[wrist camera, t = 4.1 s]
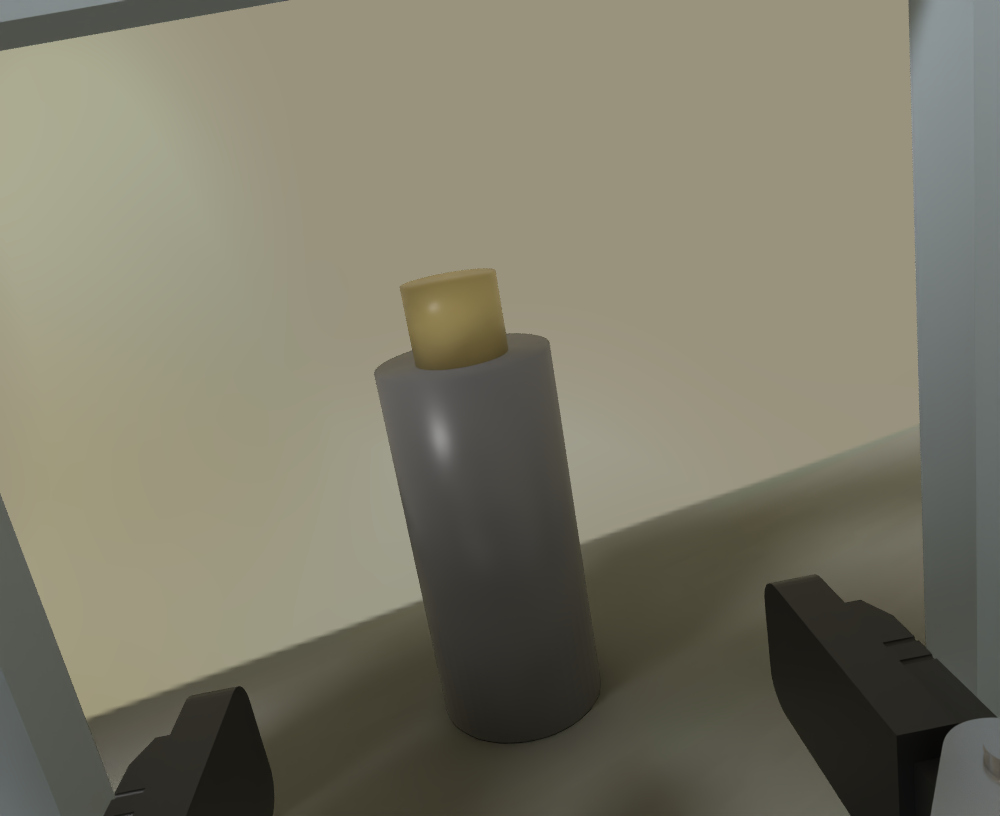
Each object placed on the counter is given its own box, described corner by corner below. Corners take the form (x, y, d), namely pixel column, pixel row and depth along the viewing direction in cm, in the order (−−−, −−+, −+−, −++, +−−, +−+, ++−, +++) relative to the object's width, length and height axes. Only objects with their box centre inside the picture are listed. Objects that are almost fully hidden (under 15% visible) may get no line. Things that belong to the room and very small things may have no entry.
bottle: (447, 756, 22) (348, 309, 18) (445, 658, 26) (365, 282, 22) (615, 724, 22) (548, 273, 18) (585, 632, 26) (527, 253, 22)
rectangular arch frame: (-7, 951, 18) (-468, -47, 12) (35, 876, 20) (-348, -18, 14) (1083, 726, 19) (1123, -317, 13) (1022, 674, 21) (1034, -254, 15)
